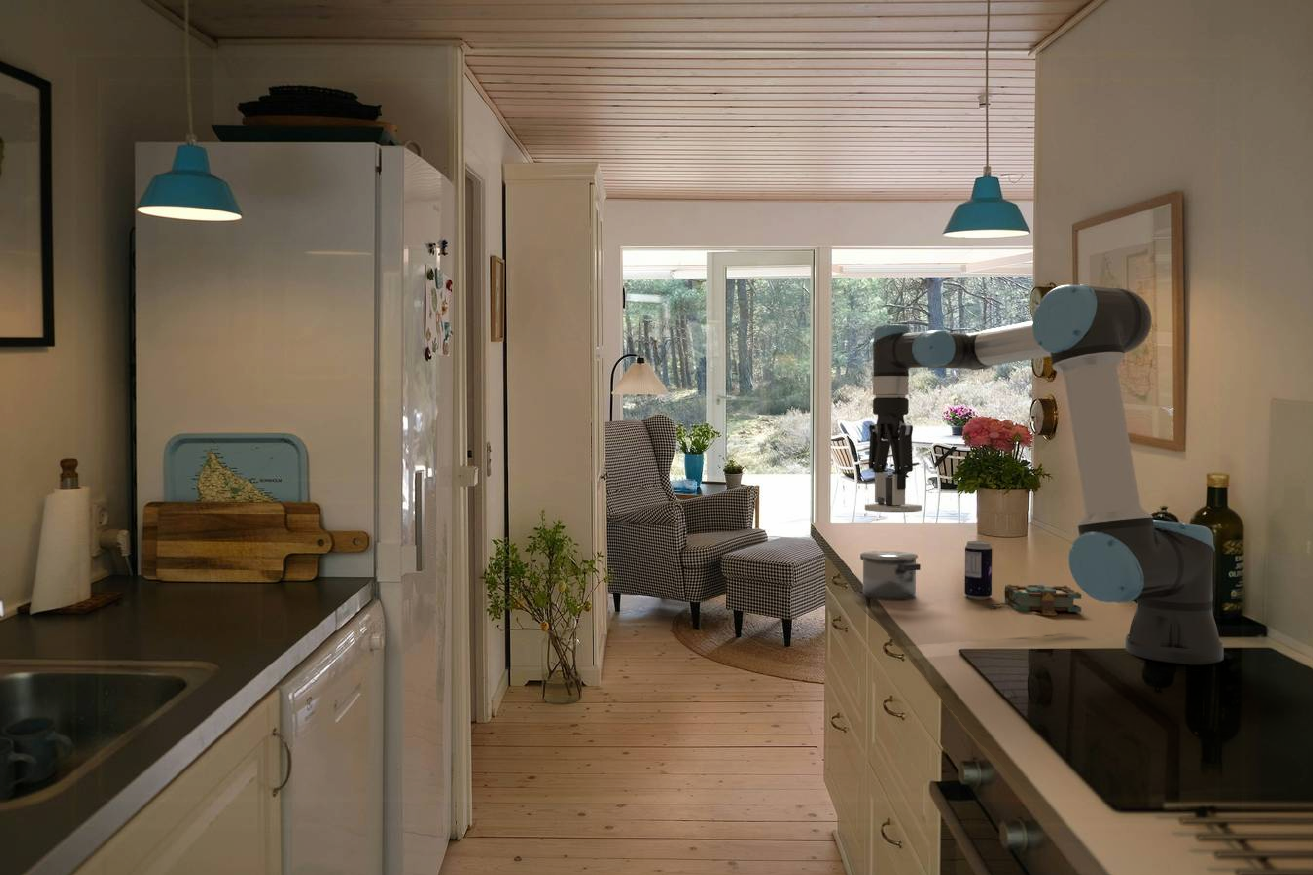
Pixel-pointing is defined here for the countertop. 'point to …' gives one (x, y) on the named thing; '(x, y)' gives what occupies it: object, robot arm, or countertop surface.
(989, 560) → the beverage can
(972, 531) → the countertop surface
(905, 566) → the pot
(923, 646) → the countertop surface
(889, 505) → the lid
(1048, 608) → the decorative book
